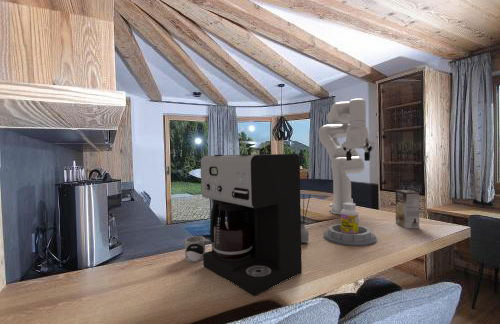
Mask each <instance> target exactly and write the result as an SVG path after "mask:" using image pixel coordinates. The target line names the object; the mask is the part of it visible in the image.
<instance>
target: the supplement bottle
mask: <svg viewBox="0 0 500 324" xmlns="http://www.w3.org/2000/svg"><path fill="white" fill-rule="evenodd" d="M343 206H344V209H342V210H341V215H340V224H341V233H348V234H358V225H359V211H358V210H357V209H356V206H357V205H356V203H355V202H351V203H343Z"/></svg>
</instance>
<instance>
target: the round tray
mask: <svg viewBox="0 0 500 324" xmlns="http://www.w3.org/2000/svg"><path fill="white" fill-rule="evenodd" d="M323 237H324V239H325V240H326V241H328V242H330V243H333V244H337V245H342V246H348V247H364V246H371V245H374V244H375V243H377V240H378V239H377V236H376V235H375V234H374V233H372V229H371V228H369V227H367V226H364V225H359V224H358V234H348V233H341V223H334V224H332V225H329V226H328V227H327V230H325V231H323Z"/></svg>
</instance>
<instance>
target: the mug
mask: <svg viewBox="0 0 500 324" xmlns="http://www.w3.org/2000/svg"><path fill="white" fill-rule="evenodd" d="M207 244H211V251H213V250H214V243H213V242H211V241H210V239H206V238H205V237H204V236H200V235H195V236H189V237H186V238H184V253H185V255H184V259H185V261H186V262H187V263H199V262H202V261H203V262H204V259H203V255H204V253H206V252H207V251H206V245H207Z"/></svg>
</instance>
